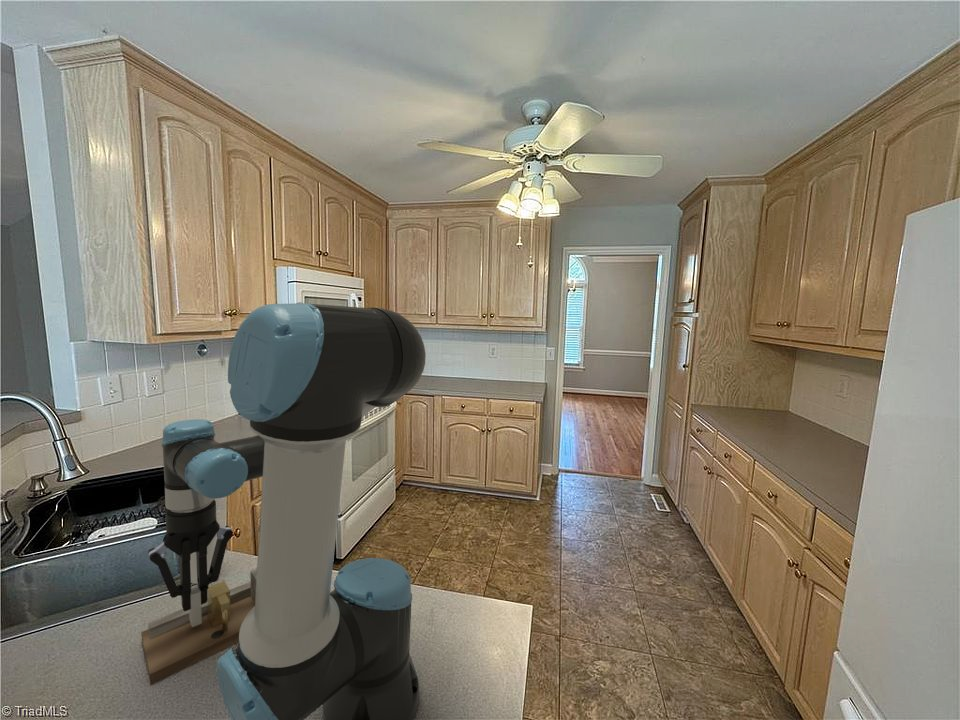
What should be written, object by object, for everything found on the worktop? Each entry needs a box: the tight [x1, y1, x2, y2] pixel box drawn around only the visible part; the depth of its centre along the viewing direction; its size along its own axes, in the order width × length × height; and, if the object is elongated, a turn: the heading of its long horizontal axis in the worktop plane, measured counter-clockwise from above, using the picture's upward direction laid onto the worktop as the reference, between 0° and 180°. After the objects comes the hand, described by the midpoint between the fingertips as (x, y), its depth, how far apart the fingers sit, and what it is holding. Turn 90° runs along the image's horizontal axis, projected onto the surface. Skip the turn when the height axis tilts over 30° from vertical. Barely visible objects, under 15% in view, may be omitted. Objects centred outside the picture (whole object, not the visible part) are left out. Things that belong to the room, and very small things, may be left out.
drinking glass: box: [190, 512, 218, 585], centre depth 91 cm, size 7×7×15 cm
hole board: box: [140, 567, 257, 686], centre depth 78 cm, size 12×24×8 cm, turn 136°
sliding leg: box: [207, 580, 231, 631], centre depth 77 cm, size 7×3×6 cm, turn 46°
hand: (195, 621), depth 75 cm, fingers closed
